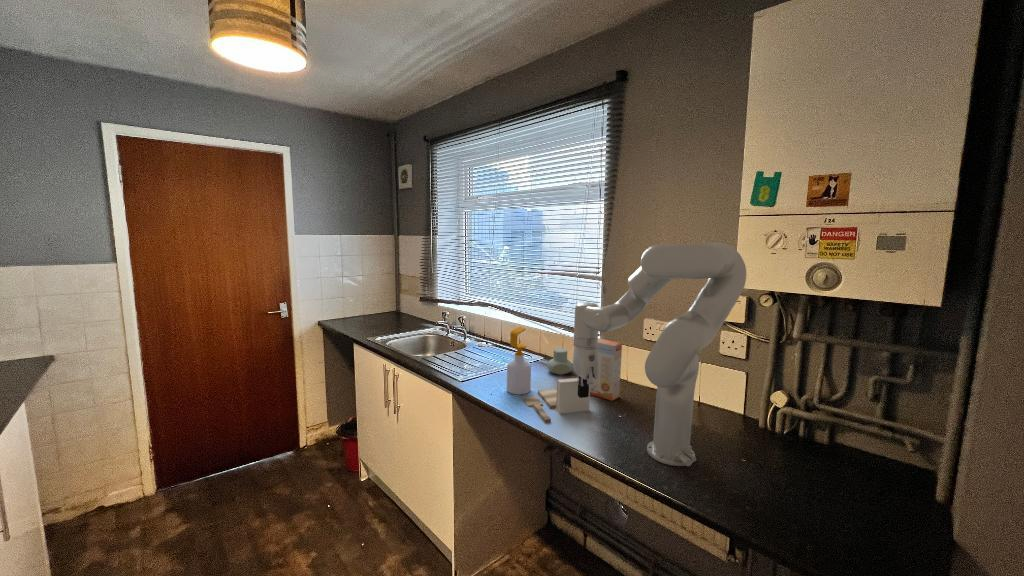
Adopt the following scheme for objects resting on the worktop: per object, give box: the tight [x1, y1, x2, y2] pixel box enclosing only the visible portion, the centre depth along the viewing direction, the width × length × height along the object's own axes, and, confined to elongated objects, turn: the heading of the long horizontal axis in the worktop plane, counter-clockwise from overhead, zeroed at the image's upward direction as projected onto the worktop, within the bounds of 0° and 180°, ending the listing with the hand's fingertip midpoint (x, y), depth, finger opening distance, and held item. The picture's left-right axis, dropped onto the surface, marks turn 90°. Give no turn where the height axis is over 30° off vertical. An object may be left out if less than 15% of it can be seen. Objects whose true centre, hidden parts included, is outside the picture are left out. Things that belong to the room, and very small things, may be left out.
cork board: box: [537, 388, 557, 409], centre depth 156 cm, size 14×14×1 cm
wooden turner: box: [522, 395, 552, 424], centre depth 146 cm, size 20×6×1 cm, turn 15°
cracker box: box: [590, 337, 623, 402], centre depth 159 cm, size 14×6×21 cm, turn 48°
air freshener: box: [546, 348, 573, 376], centre depth 183 cm, size 11×8×10 cm
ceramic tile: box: [555, 377, 591, 415], centre depth 145 cm, size 3×11×11 cm, turn 105°
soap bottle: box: [506, 326, 532, 396], centre depth 161 cm, size 9×9×25 cm
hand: (583, 396), depth 137 cm, fingers closed
